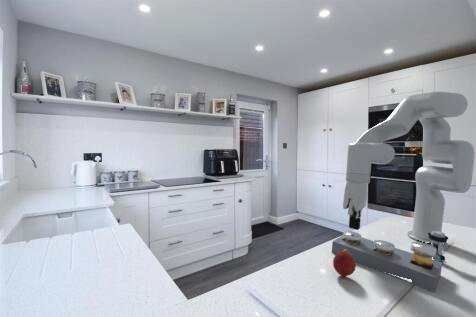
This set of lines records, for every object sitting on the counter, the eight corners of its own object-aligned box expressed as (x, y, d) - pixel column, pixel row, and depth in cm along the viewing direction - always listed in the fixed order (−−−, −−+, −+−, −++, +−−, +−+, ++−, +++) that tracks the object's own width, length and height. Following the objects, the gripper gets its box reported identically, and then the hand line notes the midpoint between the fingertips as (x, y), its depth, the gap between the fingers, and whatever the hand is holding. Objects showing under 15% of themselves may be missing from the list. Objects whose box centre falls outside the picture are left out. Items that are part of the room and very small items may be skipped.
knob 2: (411, 258, 72) (413, 240, 72) (435, 266, 68) (437, 246, 68) (407, 264, 68) (409, 244, 68) (432, 273, 64) (435, 252, 64)
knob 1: (345, 245, 87) (347, 229, 87) (362, 250, 83) (363, 234, 82) (339, 249, 83) (340, 233, 83) (356, 255, 79) (357, 238, 79)
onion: (344, 284, 62) (347, 256, 62) (327, 273, 68) (329, 246, 67) (358, 279, 65) (361, 252, 65) (341, 269, 70) (343, 243, 70)
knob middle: (375, 255, 80) (376, 238, 79) (394, 262, 76) (396, 244, 75) (369, 260, 76) (371, 242, 75) (390, 268, 72) (392, 249, 71)
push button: (453, 267, 75) (456, 237, 75) (436, 266, 76) (439, 236, 75) (436, 257, 82) (440, 230, 81) (421, 256, 82) (424, 229, 82)
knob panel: (346, 242, 90) (347, 232, 90) (440, 275, 70) (442, 262, 70) (331, 252, 81) (332, 241, 81) (434, 292, 61) (436, 278, 61)
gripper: (354, 174, 89) (351, 220, 91) (338, 178, 79) (334, 230, 80) (376, 177, 84) (372, 226, 85) (361, 181, 73) (357, 237, 75)
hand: (354, 228), depth 83 cm, fingers closed
